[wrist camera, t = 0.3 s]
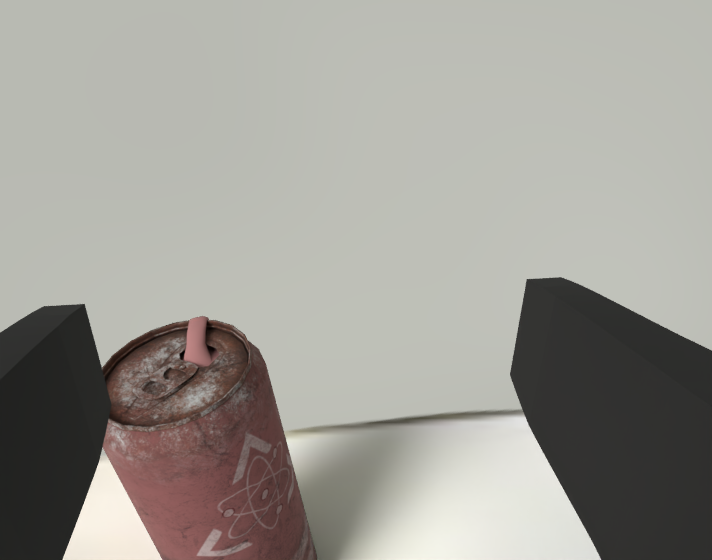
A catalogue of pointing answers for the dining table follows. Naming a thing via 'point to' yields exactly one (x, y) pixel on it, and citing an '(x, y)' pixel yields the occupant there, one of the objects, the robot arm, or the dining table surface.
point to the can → (204, 446)
